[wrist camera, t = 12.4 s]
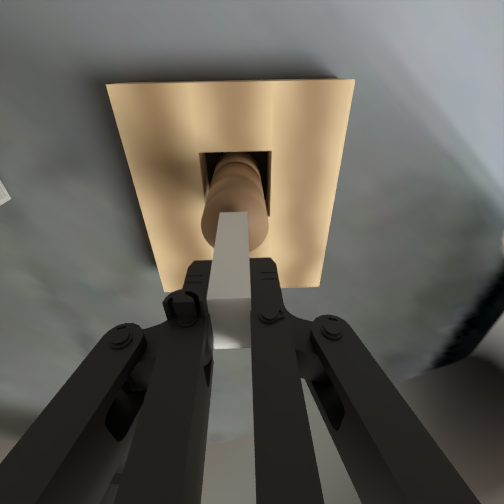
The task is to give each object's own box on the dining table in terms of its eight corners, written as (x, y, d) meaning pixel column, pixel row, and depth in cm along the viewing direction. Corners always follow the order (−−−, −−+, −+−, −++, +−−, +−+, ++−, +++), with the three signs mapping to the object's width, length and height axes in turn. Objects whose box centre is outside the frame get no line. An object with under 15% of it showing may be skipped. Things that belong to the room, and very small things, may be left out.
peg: (217, 194, 25) (205, 255, 16) (212, 150, 22) (196, 196, 14) (259, 193, 25) (268, 253, 17) (259, 149, 22) (269, 194, 14)
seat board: (171, 270, 30) (164, 292, 27) (125, 82, 19) (105, 84, 17) (311, 266, 30) (318, 286, 27) (338, 78, 20) (355, 79, 17)
